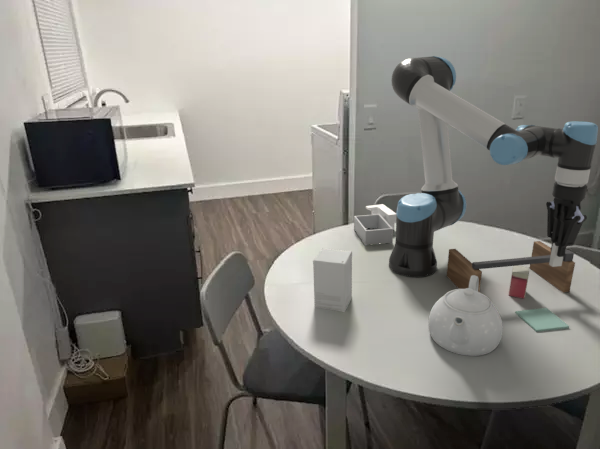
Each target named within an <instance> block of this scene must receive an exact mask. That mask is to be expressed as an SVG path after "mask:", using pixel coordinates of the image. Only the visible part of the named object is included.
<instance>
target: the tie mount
mask: <svg viewBox="0 0 600 449" xmlns="http://www.w3.org/2000/svg"><path fill="white" fill-rule="evenodd" d="M546 255H551V246H549V245H547V244H545V243H544V242H542V241H540V240H537V241H535V240H534V241H533V246H532V252H531V256H530V257H535V256H546ZM472 263H473V262H471V261H470V260H469V259H468V258H467V257H465V256H464V255H463V254H462V253H461V252H460V251H458V249H457V248H449V249H448V257H447V265H446V266H447V267H446V278H448V279H449V280H450V281H451V282H452V283H453V284H454V286H455V287H456V288H457V289H466V288H469V282H470V278H471V276H472V275H475V276H478V278H479V286H478V292H480V293H481V291H480V290H481V284H482V283H481V282H482V275H483V274H482V273H483V271H482V270H481V269H476V270H474V269H473V268H472ZM575 266H576V262H575V261H574V260H573V261H567V262H564V261H562V266H556V267H552V266H550V265H549V262H548V263H538V264H529V267H530V268H529V270H531V271H532V272H534V273H535V274H536V275H538V276H540V277H541V278H542V279H543V280H545V281H546V282H548V283H549V284H551V285H552V286H554V287H555V288H556V289H558V290H559V291H561V293H569V292H570V290H571V286H572V280H573V276H574V270H575Z"/></svg>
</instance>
